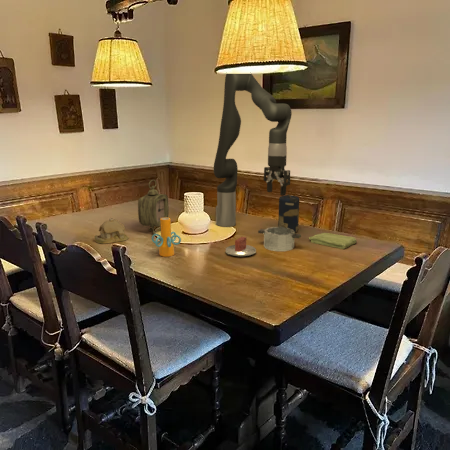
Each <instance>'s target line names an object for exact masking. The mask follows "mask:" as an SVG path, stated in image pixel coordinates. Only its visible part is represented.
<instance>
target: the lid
mask: <svg viewBox="0 0 450 450" xmlns="http://www.w3.org/2000/svg"><path fill="white" fill-rule="evenodd" d="M256 253H257V249H256V247H254V246H252V245H249V244H247V237H246V236H240V237H239V238H237V239H235V240H234V244H233V245H229V246H227V247H225V254H227V255H230V256H234V257H248V256H253V255H255V254H256Z"/></svg>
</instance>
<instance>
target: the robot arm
mask: <svg viewBox="0 0 450 450" xmlns="http://www.w3.org/2000/svg"><path fill="white" fill-rule="evenodd" d="M223 90H224V92H223V107H222V113H221V119H220V127H219V136H218V145H217V150H216V153H215V157H214V162H213V163H214V164H213V174H214V176H215V178H217V179H224V181H223V182H222V183H220V184H218V185H217V187H216V192H217V193H216V195H217V196H216V197H217V198H216V199H217V202H216V203H217V205H216V206H215V225H216V226H218V227H222V228H223V227H226V228H229V227H230V228H231V227H235V226H236V224H237V223H236V212H237V211H236V208H237V206H236V203H237V201H236V198H237V197H236V195H237V194H236V193H237V185H238V164H237V161H236V159H234V158H227V155H228V153H229V151H230V149H231V148H232V146H233V145H234V143H235V142H236V141H237V140H238V137H239V136H240V133H241V132H240V131H241V126H242V119H241V115H240V113H239V110H238V107H237V105H236V92H247V93H250V96H251V100H252V102H253V104H254V105H255V106H256V107H258V108H259V110H261V112H262V114H263V116H264V118H265V119H266V120H267V121H269V122H270V123H271V122H272V123H275V122H276V123H277V125H276V126H275V127H273V128H270V129H269V132H268V147H267V166H265V167H264V168H263V181H264V182H265V183H266V192H267V193H272V192H273V181H274V180H277V182H279V184H280V196H285V195H287V186H290V185H291V170H289V169H287V170H286V169H285V168H286V166H287V155H288V152H287V149H288V148H287V133H288V129H289V126H290V123H291V119H292V113H293V112H292V108H291V107H290V105H289V104H287V103H277V101H276V99H275V97H274V96H273V95H272V94H271V93H270V92H268V91H267V90H266V89H264V88H263V86H262V85H261V84H260V83H259V82H258V80H257V79H256V78H255V76H254V75H253V74H252V73H251V74H225V77H224V89H223Z"/></svg>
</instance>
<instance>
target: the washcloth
mask: <svg viewBox="0 0 450 450" xmlns="http://www.w3.org/2000/svg"><path fill="white" fill-rule="evenodd" d="M308 239H309V241H310V243H312V244H316V245H321V246H325V247H331V248H334V249H335V248H336V249H340V250H346V248H349V247H350V246H353V245H355V244H356V243H357V239H356V237H354V236H348V235H347V236H346V235H341V234H336V233H330V232H322V233H318V234H314V235H312V236H309V237H308Z"/></svg>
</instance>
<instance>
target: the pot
mask: <svg viewBox="0 0 450 450" xmlns="http://www.w3.org/2000/svg"><path fill="white" fill-rule="evenodd" d="M257 233H258V234H263V247H264V249H266V250H269V251H271V252H273V251H274V252H288V251H292V250H293V249H294V248H295V239H300V238H301V237H302V234H301V233H296V232H295V231H294V230H293V229H290V228H285V227H278V226H271V227H267V228H264V229H263V228H260V229H258V231H257Z"/></svg>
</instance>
